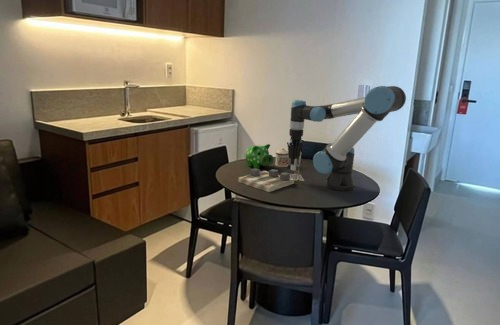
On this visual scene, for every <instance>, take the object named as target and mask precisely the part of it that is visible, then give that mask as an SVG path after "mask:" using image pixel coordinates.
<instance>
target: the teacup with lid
mask: <svg viewBox="0 0 500 325" xmlns="http://www.w3.org/2000/svg"><path fill="white" fill-rule="evenodd" d="M289 163H291V159H290V158H289V155H288V150H286V149H285V148H284V147H281V149H279V150H276V151H275V163H274V164H275V167H278V168H288V167H289Z"/></svg>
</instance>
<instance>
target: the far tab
mask: <svg viewBox="0 0 500 325" xmlns="http://www.w3.org/2000/svg"><path fill="white" fill-rule="evenodd" d="M249 171H250V174H249V175H252V176H258V175H260V172H261V169H260V168H259V169H256V168H254V167H253V168H251V169H250V170H249Z"/></svg>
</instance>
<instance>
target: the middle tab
mask: <svg viewBox="0 0 500 325" xmlns="http://www.w3.org/2000/svg"><path fill="white" fill-rule="evenodd" d="M268 172H269V176H271V177H276V176H278V175H279V170H278V169H269V171H268Z"/></svg>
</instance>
